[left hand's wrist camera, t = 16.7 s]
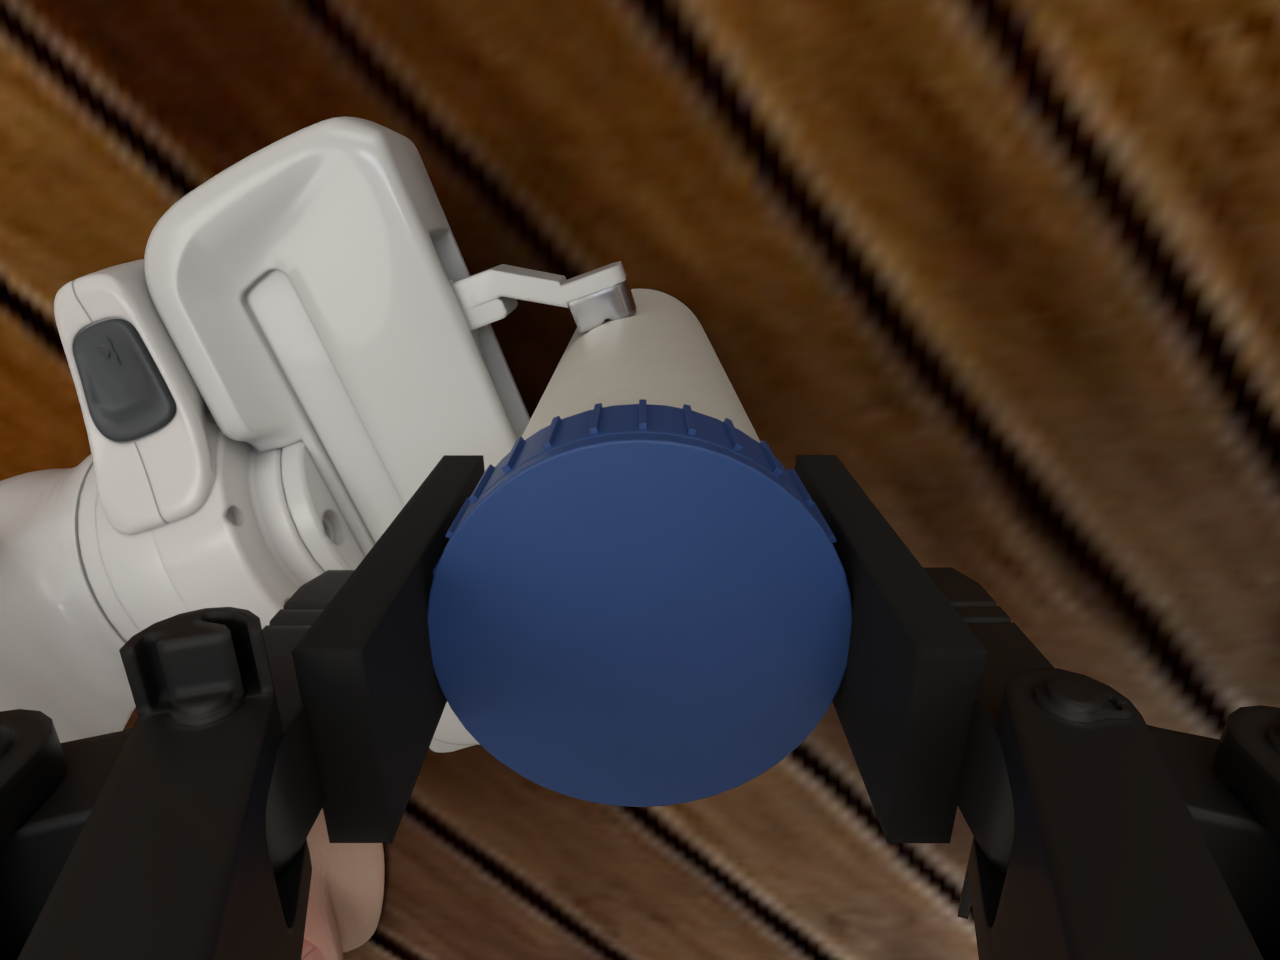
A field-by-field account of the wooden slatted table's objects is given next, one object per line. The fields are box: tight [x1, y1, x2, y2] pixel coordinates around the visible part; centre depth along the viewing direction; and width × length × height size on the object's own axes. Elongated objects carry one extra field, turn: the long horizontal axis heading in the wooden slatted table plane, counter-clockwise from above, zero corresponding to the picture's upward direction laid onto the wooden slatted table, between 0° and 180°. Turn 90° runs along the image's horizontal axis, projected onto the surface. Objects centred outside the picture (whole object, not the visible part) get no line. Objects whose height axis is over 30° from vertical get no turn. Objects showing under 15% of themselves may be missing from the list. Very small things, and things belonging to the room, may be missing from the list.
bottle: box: [522, 289, 760, 443], centre depth 20 cm, size 6×6×19 cm
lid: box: [427, 399, 852, 807], centre depth 11 cm, size 6×6×2 cm
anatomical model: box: [301, 807, 385, 960], centre depth 36 cm, size 13×4×12 cm
